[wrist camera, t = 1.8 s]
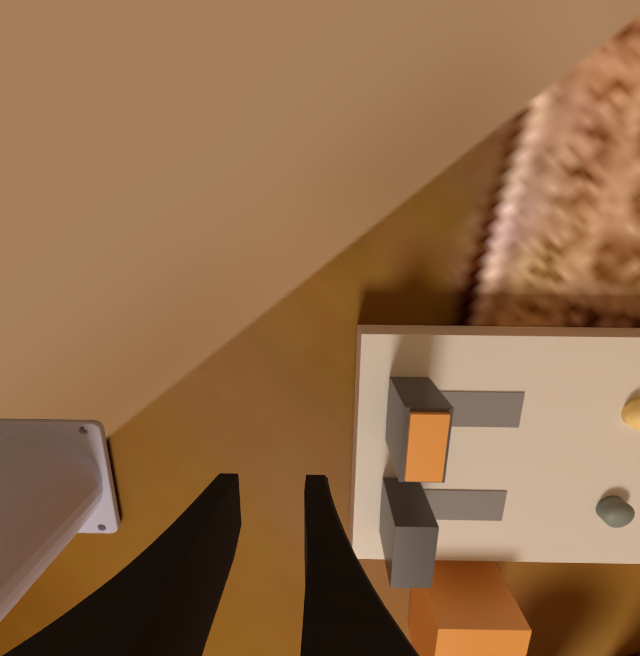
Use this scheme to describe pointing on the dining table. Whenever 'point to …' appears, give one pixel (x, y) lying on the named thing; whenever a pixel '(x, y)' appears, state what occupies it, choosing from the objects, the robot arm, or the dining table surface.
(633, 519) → the breaker panel
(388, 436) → the block
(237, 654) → the dining table surface
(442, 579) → the cap
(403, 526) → the block
